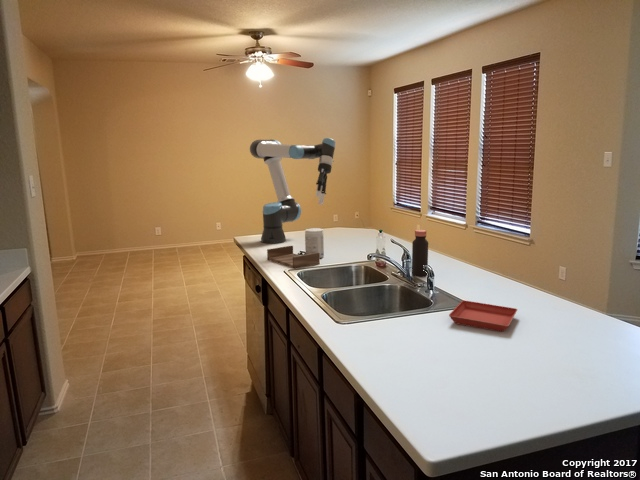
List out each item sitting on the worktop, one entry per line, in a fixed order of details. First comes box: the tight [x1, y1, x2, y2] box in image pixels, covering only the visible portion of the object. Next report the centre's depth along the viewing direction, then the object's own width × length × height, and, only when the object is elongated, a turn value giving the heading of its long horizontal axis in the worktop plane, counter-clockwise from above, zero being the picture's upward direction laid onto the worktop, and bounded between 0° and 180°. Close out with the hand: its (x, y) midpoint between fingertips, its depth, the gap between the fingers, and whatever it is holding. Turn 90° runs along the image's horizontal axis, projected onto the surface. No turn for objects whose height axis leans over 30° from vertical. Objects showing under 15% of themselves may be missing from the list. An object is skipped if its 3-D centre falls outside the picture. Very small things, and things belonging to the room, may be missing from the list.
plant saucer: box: [448, 300, 518, 332], centre depth 153 cm, size 18×18×3 cm
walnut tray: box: [266, 245, 321, 269], centre depth 237 cm, size 24×15×6 cm, turn 38°
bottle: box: [411, 229, 429, 278], centre depth 207 cm, size 7×7×20 cm
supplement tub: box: [304, 227, 325, 259], centre depth 245 cm, size 10×10×15 cm
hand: (319, 200), depth 263 cm, fingers open, 13 cm apart
